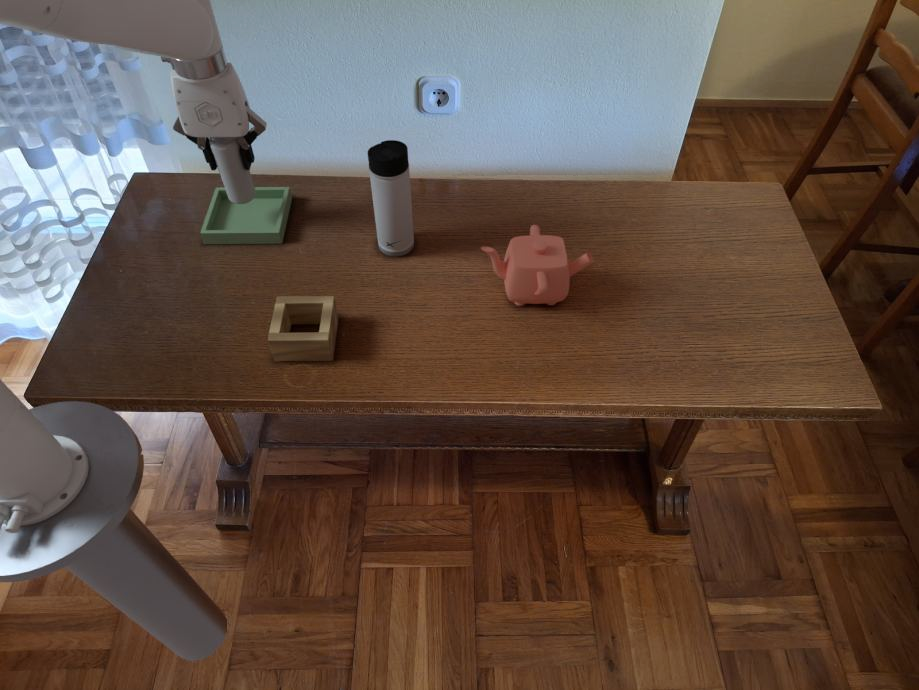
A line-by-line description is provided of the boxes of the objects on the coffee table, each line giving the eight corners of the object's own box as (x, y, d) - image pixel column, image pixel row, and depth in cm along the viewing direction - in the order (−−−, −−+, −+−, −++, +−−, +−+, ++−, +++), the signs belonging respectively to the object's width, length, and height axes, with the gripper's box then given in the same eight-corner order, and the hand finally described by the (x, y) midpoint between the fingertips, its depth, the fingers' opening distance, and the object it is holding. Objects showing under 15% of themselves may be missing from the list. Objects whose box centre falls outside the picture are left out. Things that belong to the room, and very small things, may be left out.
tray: (282, 243, 115) (279, 232, 113) (204, 244, 115) (199, 233, 112) (292, 198, 123) (289, 186, 121) (219, 198, 122) (215, 187, 120)
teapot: (539, 251, 114) (545, 205, 106) (590, 289, 108) (600, 244, 100) (478, 289, 108) (479, 244, 100) (528, 332, 102) (533, 287, 95)
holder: (333, 360, 99) (328, 339, 95) (274, 361, 98) (267, 340, 95) (338, 317, 104) (334, 295, 100) (283, 317, 104) (276, 296, 100)
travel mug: (394, 263, 112) (385, 165, 96) (371, 244, 115) (358, 145, 99) (422, 246, 114) (417, 148, 99) (398, 228, 117) (390, 130, 102)
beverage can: (234, 209, 112) (214, 149, 103) (224, 194, 115) (203, 134, 106) (261, 199, 114) (243, 139, 105) (250, 185, 117) (232, 125, 107)
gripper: (133, 73, 93) (175, 179, 107) (253, 73, 93) (280, 179, 107) (147, 47, 97) (186, 152, 111) (262, 47, 98) (286, 151, 112)
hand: (232, 164), depth 109 cm, fingers closed on beverage can, 4 cm apart
